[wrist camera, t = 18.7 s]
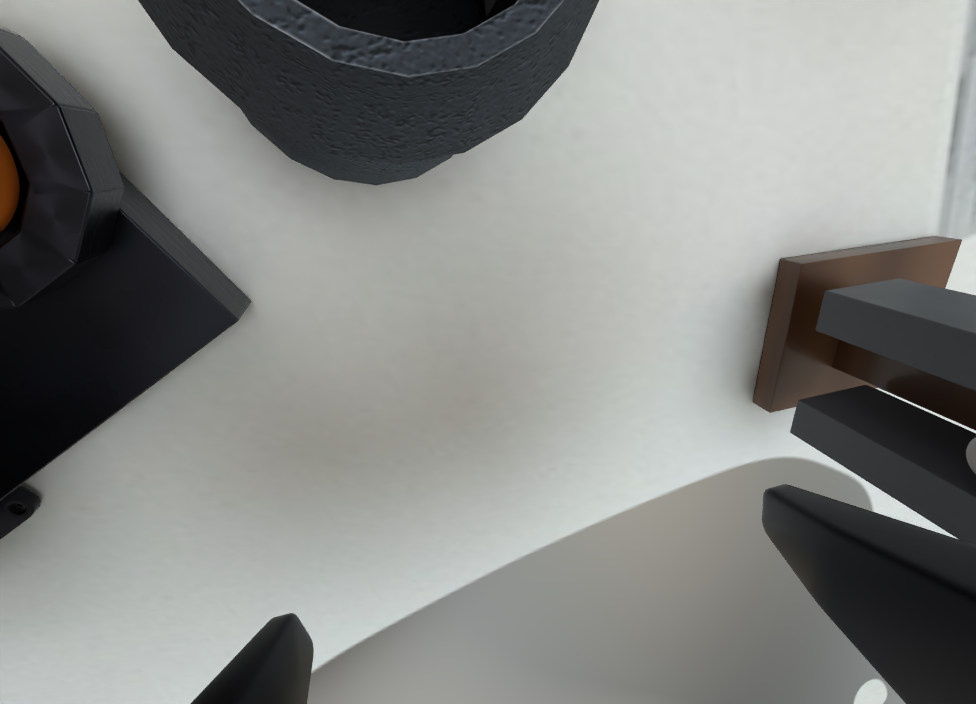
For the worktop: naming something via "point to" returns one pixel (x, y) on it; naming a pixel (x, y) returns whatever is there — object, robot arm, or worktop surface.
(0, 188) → the button
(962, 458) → the grey bridge block
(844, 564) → the robot arm
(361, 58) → the mug
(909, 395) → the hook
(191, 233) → the worktop surface
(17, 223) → the button block
